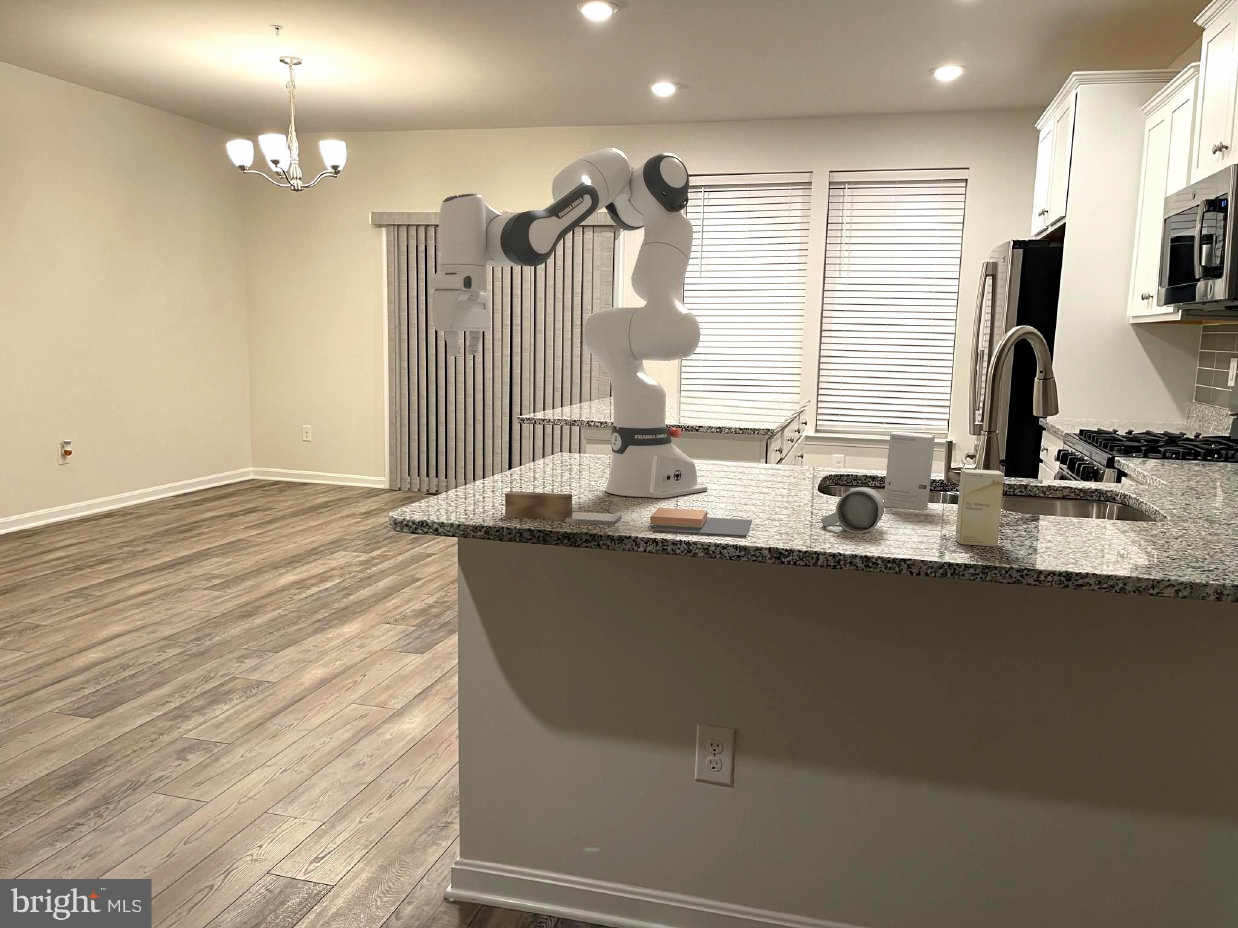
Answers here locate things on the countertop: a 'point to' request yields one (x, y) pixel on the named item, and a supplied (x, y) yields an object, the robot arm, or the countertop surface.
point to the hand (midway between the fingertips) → (464, 355)
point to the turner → (552, 508)
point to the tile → (678, 518)
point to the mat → (714, 528)
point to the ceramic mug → (857, 511)
